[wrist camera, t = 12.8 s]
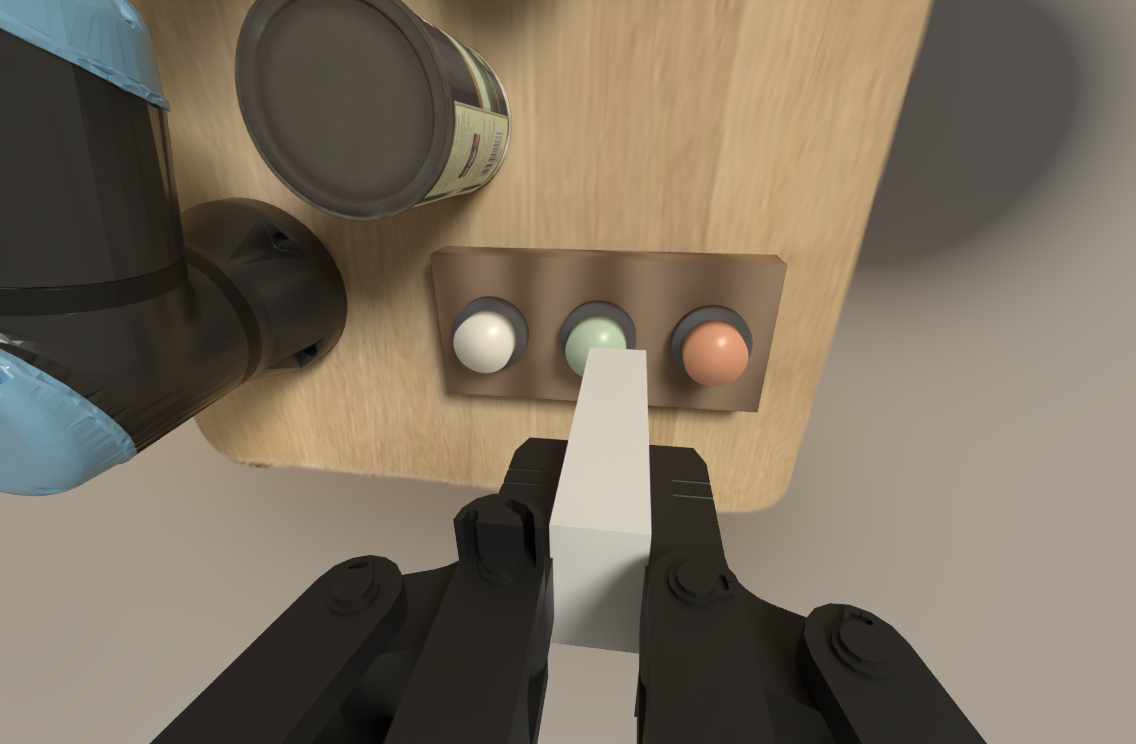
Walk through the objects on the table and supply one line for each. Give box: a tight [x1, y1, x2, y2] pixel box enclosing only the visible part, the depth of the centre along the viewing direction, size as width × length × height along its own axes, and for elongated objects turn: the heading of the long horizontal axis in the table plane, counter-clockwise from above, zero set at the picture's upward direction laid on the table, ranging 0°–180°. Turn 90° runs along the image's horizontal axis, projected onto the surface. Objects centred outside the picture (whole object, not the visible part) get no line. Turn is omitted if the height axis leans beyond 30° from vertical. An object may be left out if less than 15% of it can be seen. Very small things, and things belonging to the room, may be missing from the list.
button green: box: [565, 315, 627, 377], centre depth 36 cm, size 4×4×2 cm
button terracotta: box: [682, 320, 749, 386], centre depth 35 cm, size 4×4×2 cm
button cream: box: [453, 310, 517, 373], centre depth 37 cm, size 4×4×2 cm
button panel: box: [430, 246, 787, 412], centre depth 39 cm, size 26×12×4 cm, turn 90°
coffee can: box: [235, 0, 512, 221], centre depth 29 cm, size 10×10×14 cm
